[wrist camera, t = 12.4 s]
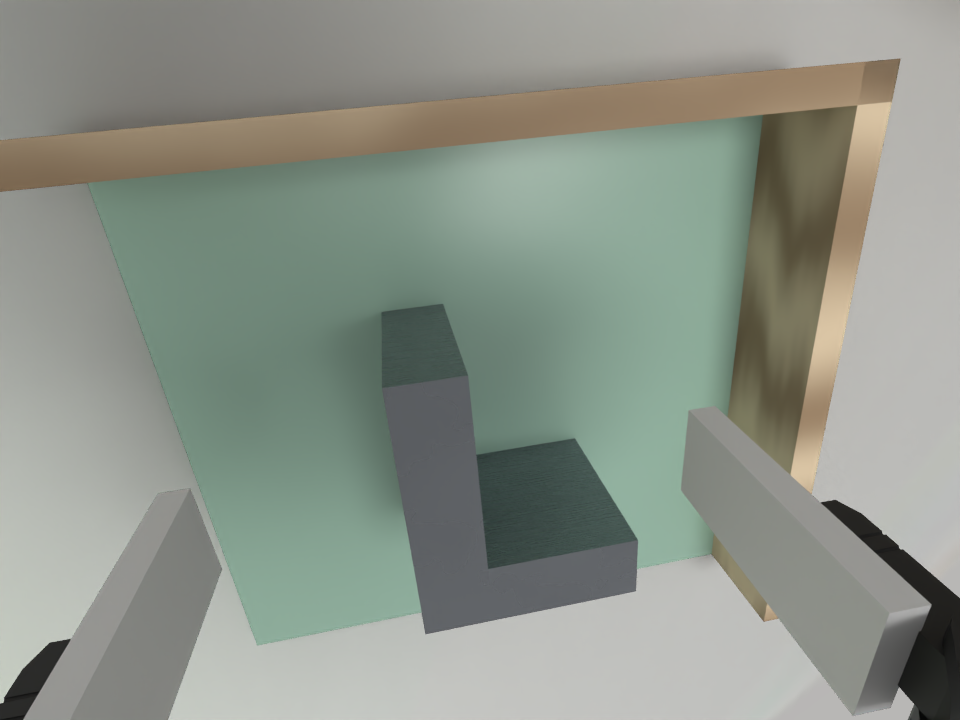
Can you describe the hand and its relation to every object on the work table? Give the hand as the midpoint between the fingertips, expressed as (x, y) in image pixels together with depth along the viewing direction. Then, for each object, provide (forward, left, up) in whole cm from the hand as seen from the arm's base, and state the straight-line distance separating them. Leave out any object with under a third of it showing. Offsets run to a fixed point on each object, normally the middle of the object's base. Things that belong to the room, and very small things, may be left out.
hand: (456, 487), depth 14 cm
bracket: (+3, +2, -9) cm, 10 cm away
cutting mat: (+2, +2, -10) cm, 10 cm away
